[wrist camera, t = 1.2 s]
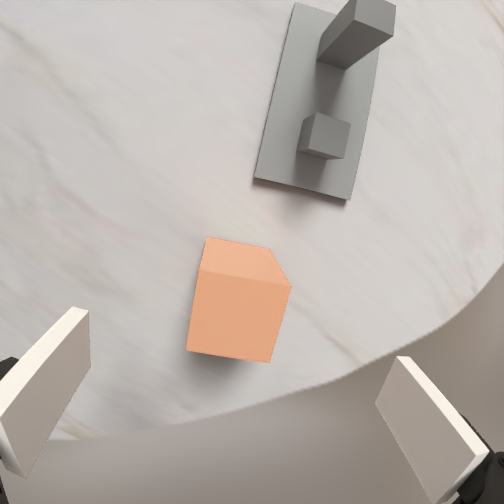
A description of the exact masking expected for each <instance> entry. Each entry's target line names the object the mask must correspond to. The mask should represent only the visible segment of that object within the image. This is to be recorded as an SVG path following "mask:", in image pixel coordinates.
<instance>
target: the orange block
mask: <svg viewBox="0 0 504 504" xmlns="http://www.w3.org/2000/svg"><path fill="white" fill-rule="evenodd" d="M290 290H291V285H290V283H289V281H288V279H287V278H286V276H285V274H284V272H283V271H282V269H281V267H280V265H279V264H278V262H277V260H276V258H275V257H274V255H273V253H272V251H271V250H270V249H266V248H261V247H256V246H251V245H246V244H241V243H236V242H231V241H226V240H221V239H215V238H210V237H207V239H206V243H205V247H204V251H203V255H202V259H201V263H200V267H199V272H198V278H197V284H196V289H195V295H194V301H193V307H192V313H191V319H190V325H189V331H188V338H187V344H186V350H188V351H193V352H199V353H205V354H211V355H217V356H223V357H229V358H236V359H243V360H250V361H257V362H265V363H270V360H271V356H272V353H273V350H274V346H275V343H276V339H277V336H278V333H279V329H280V326H281V322H282V319H283V315H284V312H285V308H286V304H287V301H288V297H289V294H290Z"/></svg>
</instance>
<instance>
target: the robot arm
mask: <svg viewBox="0 0 504 504" xmlns="http://www.w3.org/2000/svg"><path fill="white" fill-rule="evenodd" d="M90 367H91V363H90V340H89V311H88V310H84V309H80V308H76V307H72V308H71V309H70V310H68V311H67V312H66V313H65V314H64V315H63V316H62V317H61V318H60V319H59V320H58V321H57V322H56V323H55V324H54V325H53V326H52V327H51V328H50V329H49V330H48V331H47V332H46V333H45V334H44V335H43V336H42V337H41V338H40V339H39V340H38V341H37V342H36V343H35V344H34V345H33V346H32V347H31V348H30V350H29V351H28V352H27V353H26V354H25V355H24V356H23V357H22V358H21V359H20V360H18V359H16V358H14V357H10V358H7V359H5V360H3V361H1V362H0V459H1V460H2V462H3V464H4V466H5V468H6V469H7V470H9V471H11V472H13V473H15V474H17V475H19V476H21V477H23V478H25V479H27V477H28V475H29V473H30V471H31V469H32V467H33V465H34V464H35V462H36V460H37V457H38V456H39V454H40V452H41V450H42V449H43V447H44V445H45V443H46V441H47V440H48V438H49V436H50V434H51V432H52V431H53V429H54V427H55V425H56V424H57V422H58V420H59V418H60V417H61V415H62V413H63V412H64V410H65V408H66V406H67V405H68V403H69V401H70V400H71V398H72V396H73V395H74V393H75V391H76V390H77V388H78V386H79V385H80V383H81V382H82V380H83V378H84V377H85V375H86V373H87V372H88V370H89V369H90ZM375 405H376V407H377V409H378V410H379V412H380V414H381V415H382V417H383V419H384V421H385V422H386V424H387V425H388V427H389V429H390V430H391V433H392V434H393V436H394V438H395V440H396V441H397V443H398V445H399V446H400V448H401V450H402V452H403V453H404V455H405V457H406V459H407V460H408V462H409V464H410V466H411V467H412V469H413V471H414V473H415V475H416V476H417V478H418V480H419V482H420V483H421V485H422V487H423V489H424V491H425V492H426V494H427V496H428V498H429V499H430V501H431V503H432V504H440V503H442V502H446V501H448V500H449V499H450V498H451V497H452V496H453V494H454V493H455V492H456V491H457V492H458V493H459V495H460V496H459V497H458V498H457V499H456V500H455V501H454V502H453V503H452V504H504V452H497V453H496V454H495V453H494V451H493V450H492V449H491V448H490V447H489V445H488V444H487V443H486V442H485V441H484V439H482V437H481V436H480V435H479V433H477V432H476V430H475V429H474V427H473V426H471V424H470V423H469V421H468V420H467V419H466V418H465V417H464V416H463V415H461V414H460V413H459V412H457V411H456V410H455V409H454V407H453V406H452V405H451V404H450V403H449V402H448V401H447V399H446V398H445V397H444V396H443V395H442V393H441V392H440V391H439V390H438V389H437V388H436V386H435V385H434V384H433V383H432V382H431V381H430V380H429V378H428V377H427V376H426V375H425V374H424V373H423V372H422V371H421V370H420V368H419V367H418V366H417V365H416V364H415V363H414V362H413V360H412V359H411V358H410V357H400V356H399V357H398V356H396V358H395V361H394V363H393V365H392V368H391V370H390V372H389V374H388V377H387V379H386V381H385V383H384V385H383V388H382V389H381V391H380V393H379V396H378V397H377V400H376V402H375ZM0 504H9V503H8V500H7V497H6V494H5V491H4V488H3V484H2V481H1V478H0Z"/></svg>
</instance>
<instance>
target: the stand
mask: <svg viewBox="0 0 504 504" xmlns="http://www.w3.org/2000/svg"><path fill="white" fill-rule="evenodd" d="M395 13H396V5H393V4H391V3H389V2H387V1H385V0H349V1H348V3H347V4H346V5H345V6H344V7H343V9H342V10H341V11H340V12H339V13H338V15H335V14H332V13H329V12H326V11H323V10H320V9H317V8H313V7H310V6H307V5H303V4H300V3H296V2H295V4H294V8H293V12H292V16H291V20H290V24H289V28H288V32H287V36H286V40H285V44H284V49H283V53H282V57H281V61H280V65H279V69H278V74H277V78H276V82H275V86H274V90H273V95H272V99H271V103H270V108H269V112H268V116H267V120H266V125H265V129H264V133H263V138H262V142H261V147H260V151H259V155H258V160H257V164H256V169H255V173H254V177H257V178H261V179H266V180H270V181H274V182H279V183H283V184H287V185H291V186H295V187H300V188H304V189H308V190H312V191H316V192H319V193H323V194H327V195H331V196H335V197H339V198H342V199H346V200H350V199H351V195H352V191H353V186H354V182H355V178H356V173H357V169H358V164H359V160H360V155H361V150H362V146H363V141H364V136H365V131H366V126H367V120H368V115H369V110H370V104H371V98H372V93H373V87H374V81H375V74H376V68H377V61H378V54H379V47H380V45H381V44H383V43H384V42H385V41H387V40H388V39H390V38H391V37H393V34H394V24H395Z"/></svg>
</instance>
